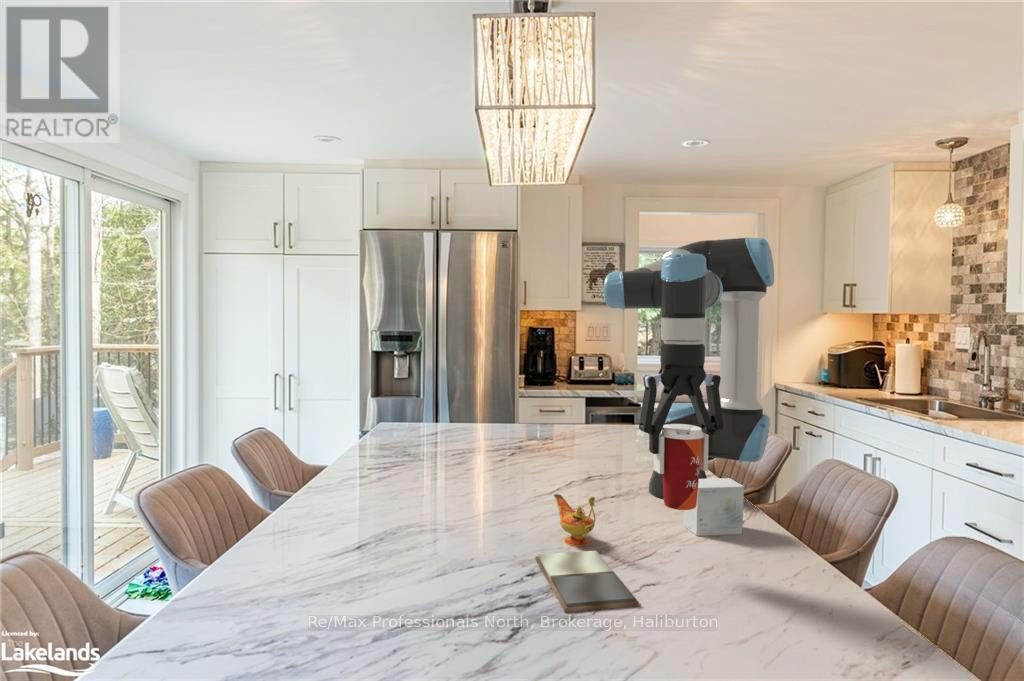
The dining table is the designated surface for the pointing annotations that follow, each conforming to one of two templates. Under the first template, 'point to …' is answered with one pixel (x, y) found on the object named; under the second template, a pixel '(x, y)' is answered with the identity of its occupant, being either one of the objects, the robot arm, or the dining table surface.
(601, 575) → the wooden framed mirror
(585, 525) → the magic lamp
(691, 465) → the paper cup
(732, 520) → the skincare box
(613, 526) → the dining table surface
